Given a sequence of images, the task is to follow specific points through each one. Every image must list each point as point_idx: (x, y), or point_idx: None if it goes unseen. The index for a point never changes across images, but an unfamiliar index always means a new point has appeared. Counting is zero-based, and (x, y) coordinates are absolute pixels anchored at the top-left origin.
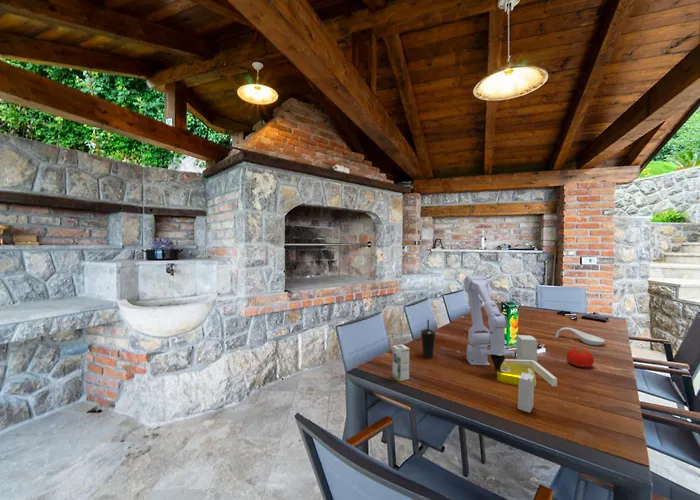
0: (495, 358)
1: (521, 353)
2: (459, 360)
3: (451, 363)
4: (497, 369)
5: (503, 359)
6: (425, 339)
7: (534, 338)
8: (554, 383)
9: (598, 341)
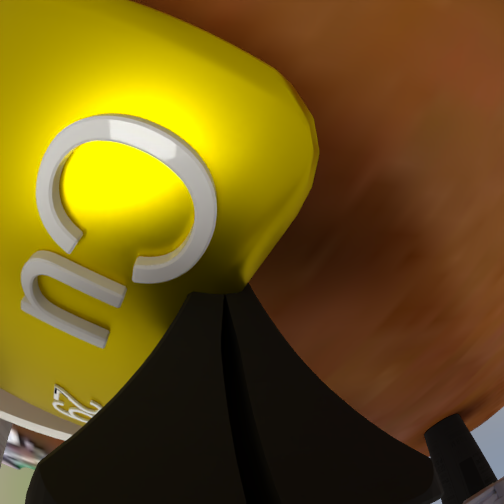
0: (422, 501)
1: None
2: None
3: (414, 403)
4: (247, 276)
5: (77, 491)
6: (495, 476)
7: None
8: None
9: None
